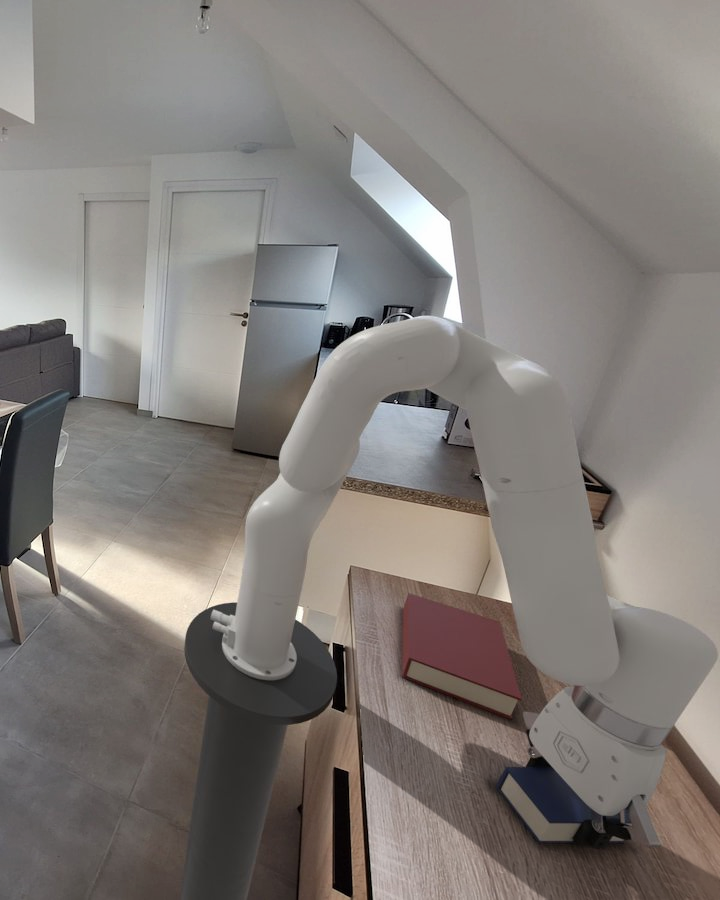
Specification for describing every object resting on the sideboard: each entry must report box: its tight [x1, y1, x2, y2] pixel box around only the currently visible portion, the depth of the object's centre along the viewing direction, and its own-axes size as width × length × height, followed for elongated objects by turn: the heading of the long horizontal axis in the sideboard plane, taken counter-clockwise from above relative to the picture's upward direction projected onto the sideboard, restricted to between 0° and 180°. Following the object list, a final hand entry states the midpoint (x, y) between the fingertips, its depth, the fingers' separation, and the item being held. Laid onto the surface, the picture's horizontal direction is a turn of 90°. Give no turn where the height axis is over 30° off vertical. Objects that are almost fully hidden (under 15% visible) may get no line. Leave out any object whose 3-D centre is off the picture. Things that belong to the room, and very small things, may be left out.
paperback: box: [495, 766, 632, 844], centre depth 58 cm, size 11×6×4 cm, turn 91°
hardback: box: [401, 593, 523, 721], centre depth 82 cm, size 20×15×4 cm
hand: (559, 809), depth 58 cm, fingers closed on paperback, 6 cm apart
